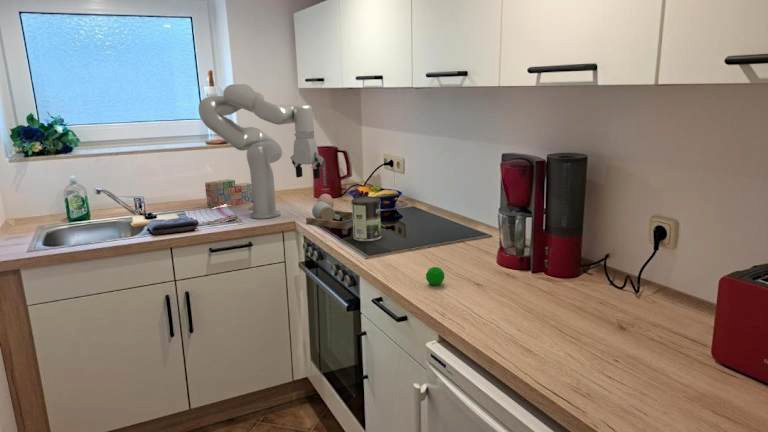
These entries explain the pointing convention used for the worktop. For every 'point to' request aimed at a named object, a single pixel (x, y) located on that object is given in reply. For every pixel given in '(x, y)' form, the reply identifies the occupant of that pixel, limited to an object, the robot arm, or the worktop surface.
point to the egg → (326, 199)
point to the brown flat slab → (333, 224)
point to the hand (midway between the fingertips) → (308, 177)
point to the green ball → (435, 276)
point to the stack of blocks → (227, 193)
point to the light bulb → (324, 211)
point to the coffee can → (366, 218)
